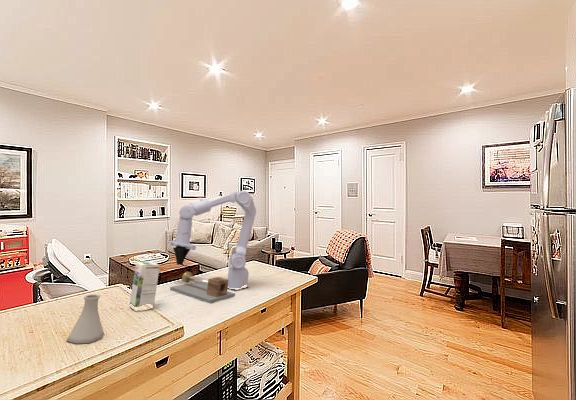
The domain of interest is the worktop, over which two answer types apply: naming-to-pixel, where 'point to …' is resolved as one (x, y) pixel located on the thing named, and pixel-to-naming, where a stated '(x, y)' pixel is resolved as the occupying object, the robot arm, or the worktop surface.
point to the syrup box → (144, 283)
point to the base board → (199, 292)
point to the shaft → (193, 278)
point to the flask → (88, 322)
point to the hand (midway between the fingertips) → (179, 264)
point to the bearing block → (217, 287)
